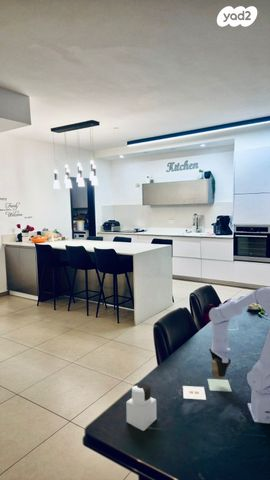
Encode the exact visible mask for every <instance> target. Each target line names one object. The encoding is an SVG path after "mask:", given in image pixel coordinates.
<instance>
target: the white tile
mask: <svg viewBox="0 0 270 480" xmlns="http://www.w3.org/2000/svg"><path fill="white" fill-rule="evenodd" d="M182 392H183V395H182V396H183V399H186V400H187V399H188V400H189V399H191V400H204V401H205V400H207V396H206V391H205V387H204V386H192V385H191V386H190V385H182Z"/></svg>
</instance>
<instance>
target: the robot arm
mask: <svg viewBox="0 0 270 480" xmlns="http://www.w3.org/2000/svg"><path fill="white" fill-rule="evenodd" d="M254 304H256V305H259V306H260V307H261V308H262V309H263V311H265V313H266V314H267V316H269V317H270V286H266V287H260V288H258V289H255V290H252V291H251V292H249V293H247V294H246V295H244V296H242V297H241V298H239V299H237V298H232V297H231V298H228V299H226V302H224V303H220V304H219V305H218V306H217V307H211V309H210V310H209V312H208V317H209V320H210V321H211V323H212V326H211V328H212V329H211V333H212V334H211V336H212V337H211V348H209V353H210V356H211V359H212V360H211V361H213V360H214V358H215V357H216V358H215V361H216V363H217V367H218V374H219V377H224V378H225V376H226V373H227V370H228V367H229V365H230V364H231V361H232V360H231V359H230V358H229V356H228V355H229V354H228V353H229V352H231V348H230V347H228V342H229V339H228V338H229V337H228V336H229V325H230V321H231V320H232V319H233V318H235V317H236V316H238V315H241V314H243V312H244V309H245V308H247V307H250V306H251V305H254ZM266 335H267V336H266V339H265V341H264V345H263V347H262V351H261V353H260V356H259V359H258V361H256V363H254V365H253V366H252V368H251V370H250V371H249V372H248V373H247V375H246V380H247V383H248V385H249V386H250V388H251V396H250V397H251V398H250V399H251V400H250V401H251V402H248V403H247V407H248V410H249V412H250V414H251V417H252V420H253V421H254V423H261V424H270V328H269V330H268V333H267V334H266Z"/></svg>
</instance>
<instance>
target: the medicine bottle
mask: <svg viewBox="0 0 270 480" xmlns="http://www.w3.org/2000/svg"><path fill="white" fill-rule="evenodd" d="M151 389H152V387H151V386H150V385H149V384H148V383H145V382H136V383H134V384H133V386H132V387H131V398H130V399H128V400H127V401H126V404H125V405H126V409H125V410H126V413H125V414H126V423H128V424H130V425H131V426H133V427H134V428H136V429H139V430H141V432H144V431H146V429H148V428H149V427H150V426H151V425H152V424H153V423H154V422H155V421H156V420H157V399H156V398H153V397H151V396H152V393H151Z"/></svg>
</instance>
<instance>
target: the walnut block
mask: <svg viewBox="0 0 270 480" xmlns="http://www.w3.org/2000/svg"><path fill="white" fill-rule="evenodd" d="M215 358H216V357H215ZM215 358H214V360H211V377H212V378H214V379H220V380H224V378H225V376H224V377H219V374H218V367H217V363H216V361H215Z"/></svg>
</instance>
